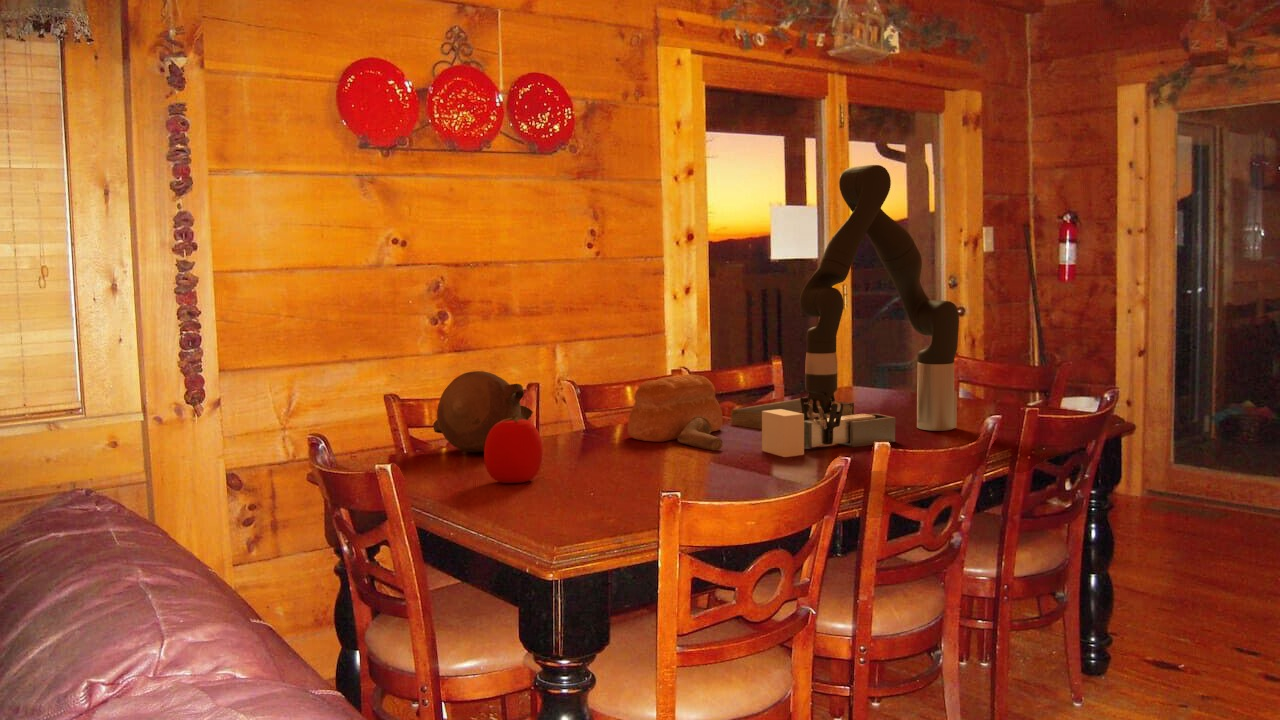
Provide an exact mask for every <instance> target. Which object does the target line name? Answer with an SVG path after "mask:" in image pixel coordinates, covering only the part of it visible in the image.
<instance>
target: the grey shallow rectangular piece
mask: <svg viewBox="0 0 1280 720" xmlns="http://www.w3.org/2000/svg"><path fill="white" fill-rule="evenodd" d="M801 398H802V397H800V398H793V399H787V400H781V401H777V402H775V401H774V402H768V403H763V404H756V405H751V406H745V407H744V406H743V407H738V408H732V409H731V412H730V420H731V421H730V422H731V425H732V426H739V427H744V428H745V427H746V428H750V429H756V428H757V429H758V430H762V411H767V410H777V409H783V410H788V411H793V412H797V413H802V407H801V401H800V399H801ZM835 401H836V402H837V403H843V410H842V415H841V416H847V415H855V403H854V402H848V401H847V402H846V401H837V400H835ZM802 414H803V413H802ZM807 415H808V412H807ZM825 415H829V414H825ZM808 417H809V415H808ZM815 418H816V417H815Z"/></svg>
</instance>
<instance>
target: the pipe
mask: <svg viewBox="0 0 1280 720" xmlns="http://www.w3.org/2000/svg"><path fill="white" fill-rule="evenodd" d="M711 430H712V428H711V424H710V423H709V421H708V420H707V419H706V418H704V417H701V416H698V417H695V418H693V419H692V420H691V422H690V423H689V424H688V425H687V426H686V427H685V428H684V429H683V431H682V432H681V434H680V435H679V436H678V438H677V439H676V440H677V442H678V443H681V444H683V445H686V446H691V447H693V448H699V449H704V450H708V451H712V452H715V451H714V450H716V451H719V450H720V449H721V448H722V447H723V444H724V443H723V442H724V441H723V440H722V438H720V437H717V436H714V435H712V434H711V433H712V432H711Z"/></svg>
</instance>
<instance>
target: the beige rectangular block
mask: <svg viewBox="0 0 1280 720" xmlns="http://www.w3.org/2000/svg"><path fill="white" fill-rule="evenodd" d="M870 419H875V416H873V415H868V414H867V413H859V414H857V413H856V414H854V415H847V416H841V420H840V425H839V427H835V428H834V429H833V443H832V444H831V445H834V444H836V445H837V444H838V443H844V442H850V422H853V421H861V420H870ZM835 420H836V418H835V419H834V422H835ZM827 423H829V419H827ZM823 429H824V427H823V421H822V420H821V419H813V420H804V448H808V449H812V447H819V446H826V445H825V444H824V443H823Z"/></svg>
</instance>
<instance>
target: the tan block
mask: <svg viewBox="0 0 1280 720" xmlns="http://www.w3.org/2000/svg"><path fill="white" fill-rule="evenodd" d="M761 451H762V452H764V453H768V454H772V455H775V456H779V457H783V458H789V457H797V456H803V455H805V447H804V414H802V413H797V412H793V411H788V410H783V409H777V410H767V411H762V429H761Z"/></svg>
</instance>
